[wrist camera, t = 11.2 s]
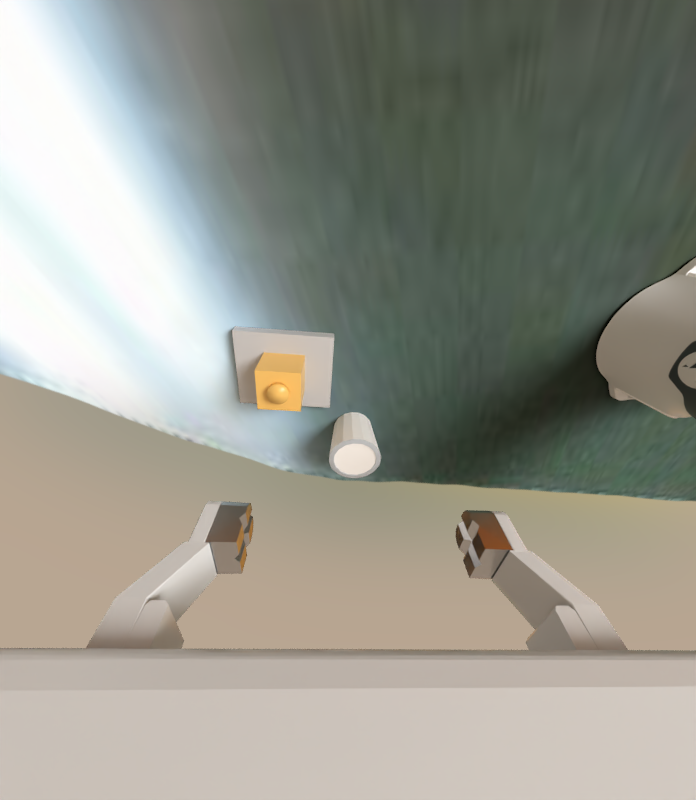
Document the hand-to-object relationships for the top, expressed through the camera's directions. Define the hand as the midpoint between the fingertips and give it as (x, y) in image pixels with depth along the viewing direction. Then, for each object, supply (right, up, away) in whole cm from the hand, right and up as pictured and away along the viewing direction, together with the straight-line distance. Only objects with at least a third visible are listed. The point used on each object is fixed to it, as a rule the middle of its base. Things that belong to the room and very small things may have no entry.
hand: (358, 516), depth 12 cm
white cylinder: (0, 0, +34) cm, 34 cm away
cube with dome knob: (-8, +8, +27) cm, 29 cm away
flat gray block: (-8, +9, +28) cm, 31 cm away
